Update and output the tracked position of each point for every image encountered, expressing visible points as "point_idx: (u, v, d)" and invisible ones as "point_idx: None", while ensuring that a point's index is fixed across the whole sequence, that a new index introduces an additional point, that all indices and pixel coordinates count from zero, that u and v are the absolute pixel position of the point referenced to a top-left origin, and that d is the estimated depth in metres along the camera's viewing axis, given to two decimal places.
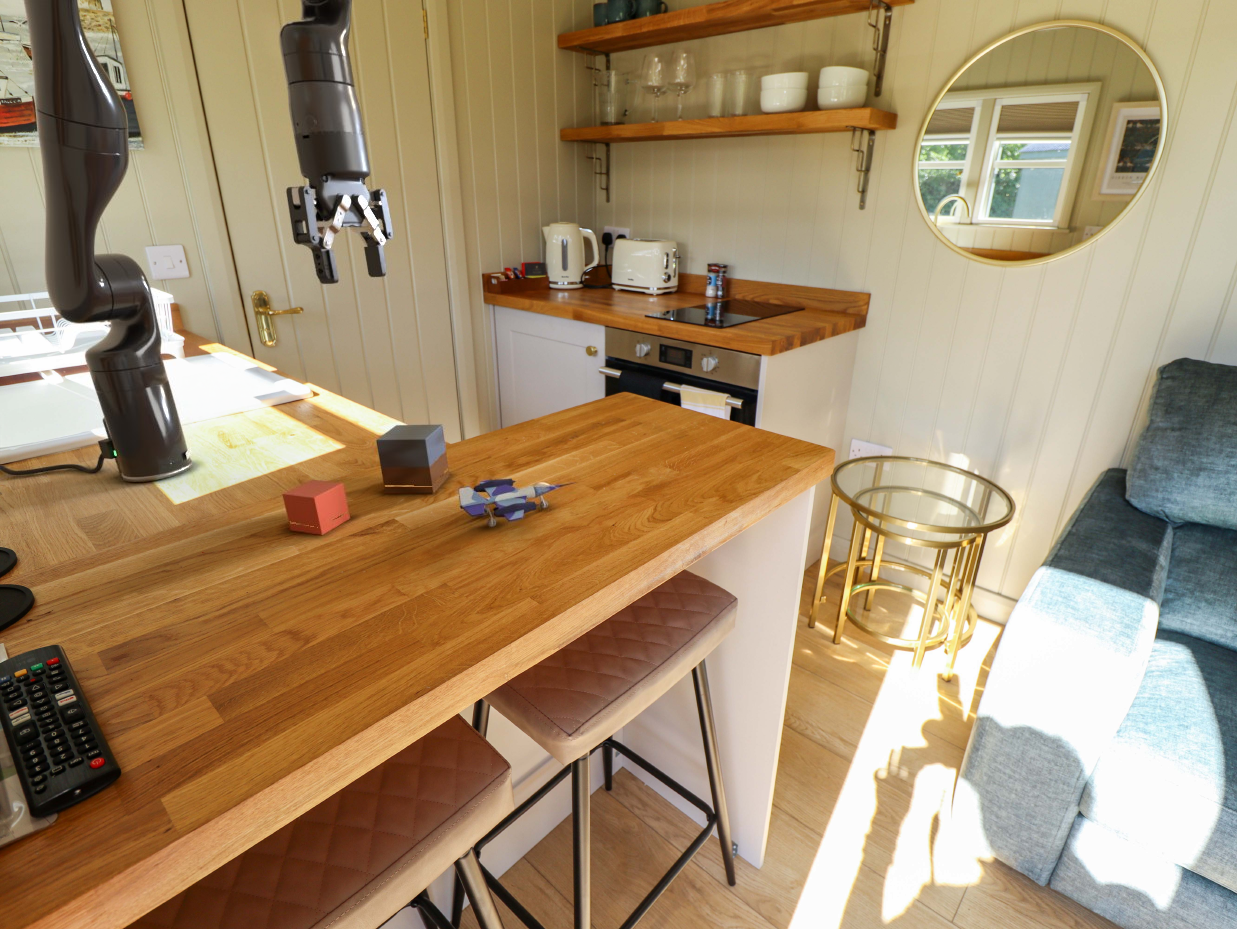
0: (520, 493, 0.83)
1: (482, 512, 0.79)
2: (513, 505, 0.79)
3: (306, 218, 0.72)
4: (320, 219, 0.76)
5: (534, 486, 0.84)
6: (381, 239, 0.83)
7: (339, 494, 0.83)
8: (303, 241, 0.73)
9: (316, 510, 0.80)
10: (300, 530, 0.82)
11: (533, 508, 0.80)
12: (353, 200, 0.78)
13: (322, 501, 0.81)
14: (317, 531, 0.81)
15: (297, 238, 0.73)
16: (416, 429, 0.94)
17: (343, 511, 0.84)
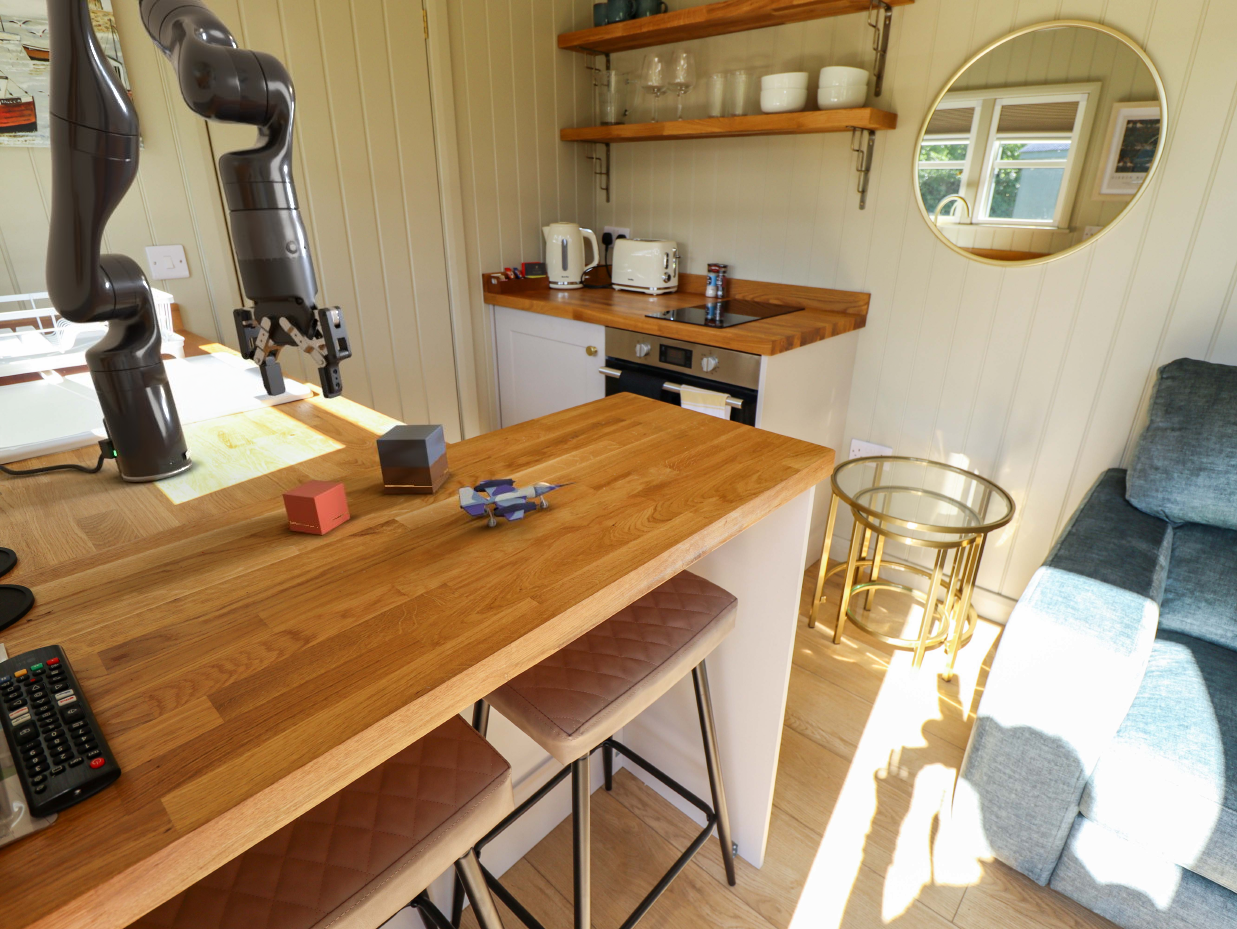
0: (520, 493, 0.83)
1: (482, 512, 0.79)
2: (513, 505, 0.79)
3: None
4: None
5: (534, 486, 0.84)
6: (319, 361, 0.75)
7: (339, 494, 0.83)
8: None
9: (316, 510, 0.80)
10: (300, 530, 0.82)
11: (533, 508, 0.80)
12: None
13: (322, 501, 0.81)
14: (317, 531, 0.81)
15: None
16: (416, 429, 0.94)
17: (343, 511, 0.84)
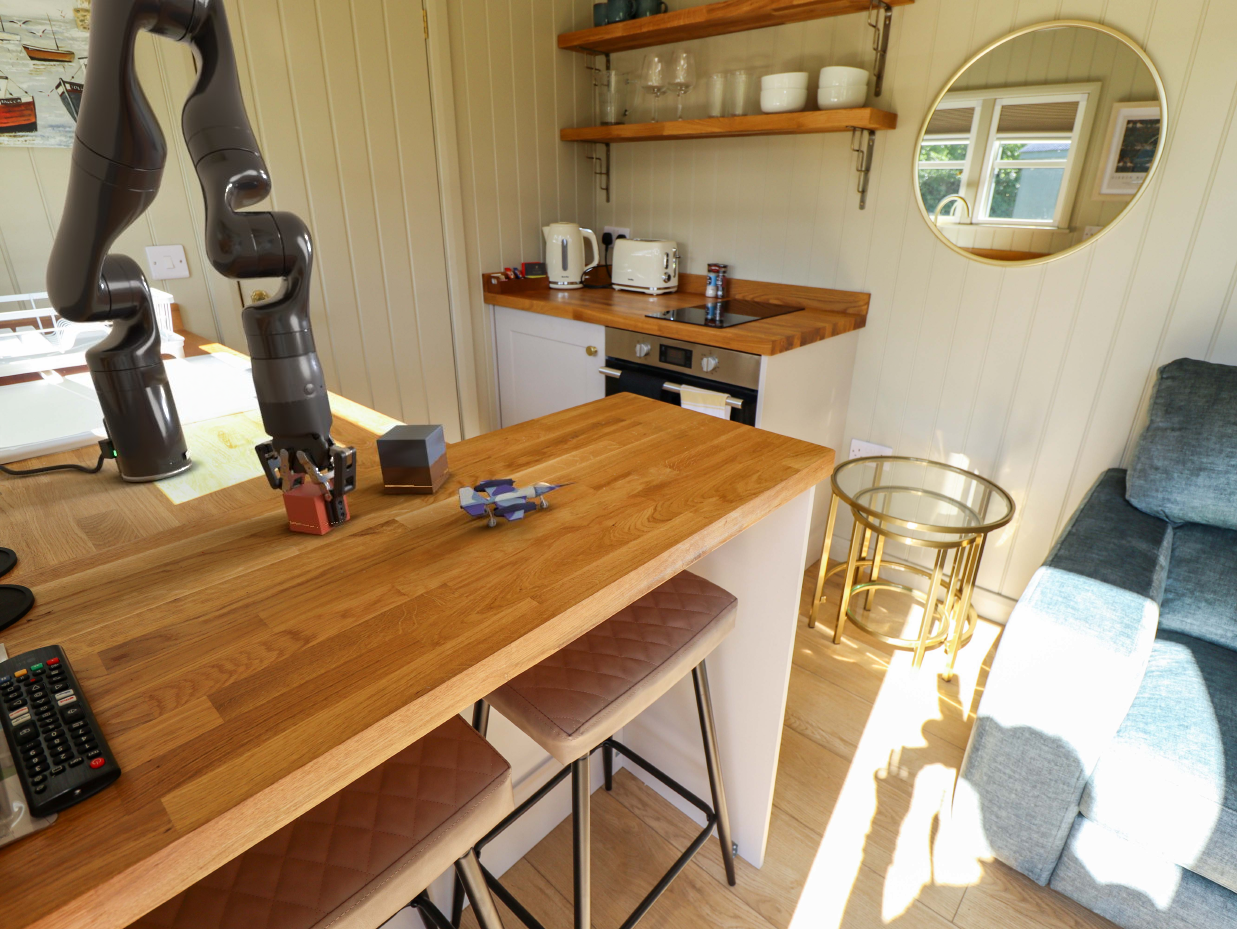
0: (520, 493, 0.83)
1: (482, 512, 0.79)
2: (513, 505, 0.79)
3: None
4: None
5: (534, 486, 0.84)
6: (325, 495, 0.80)
7: None
8: None
9: (316, 510, 0.80)
10: (300, 530, 0.82)
11: (533, 508, 0.80)
12: None
13: (322, 500, 0.81)
14: (317, 531, 0.81)
15: None
16: (416, 429, 0.94)
17: None
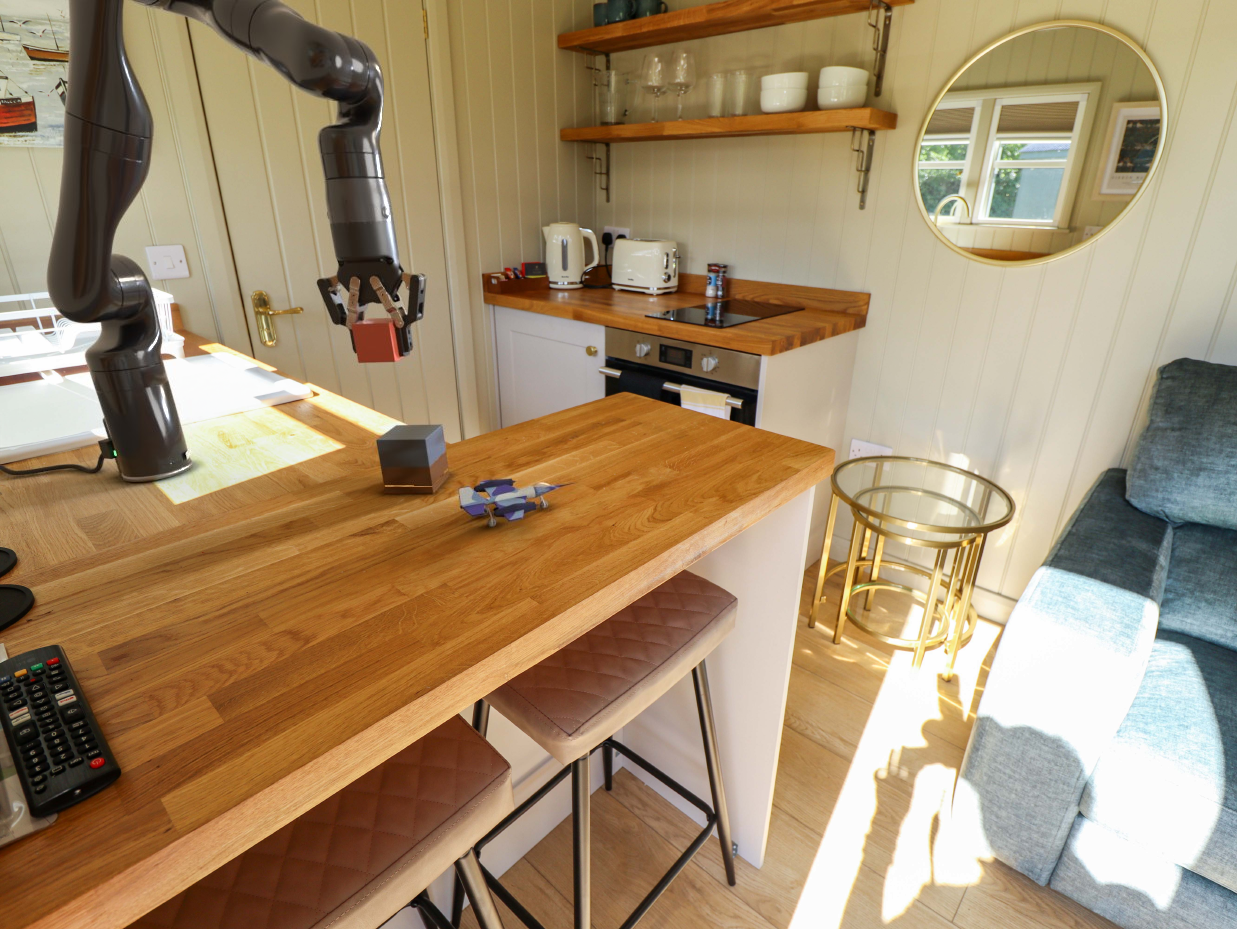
0: (520, 493, 0.83)
1: (482, 512, 0.79)
2: (513, 505, 0.79)
3: None
4: None
5: (534, 486, 0.84)
6: (397, 322, 0.84)
7: None
8: None
9: (391, 336, 0.84)
10: (370, 360, 0.85)
11: (533, 508, 0.80)
12: None
13: (393, 328, 0.85)
14: (390, 358, 0.85)
15: None
16: (416, 429, 0.94)
17: None
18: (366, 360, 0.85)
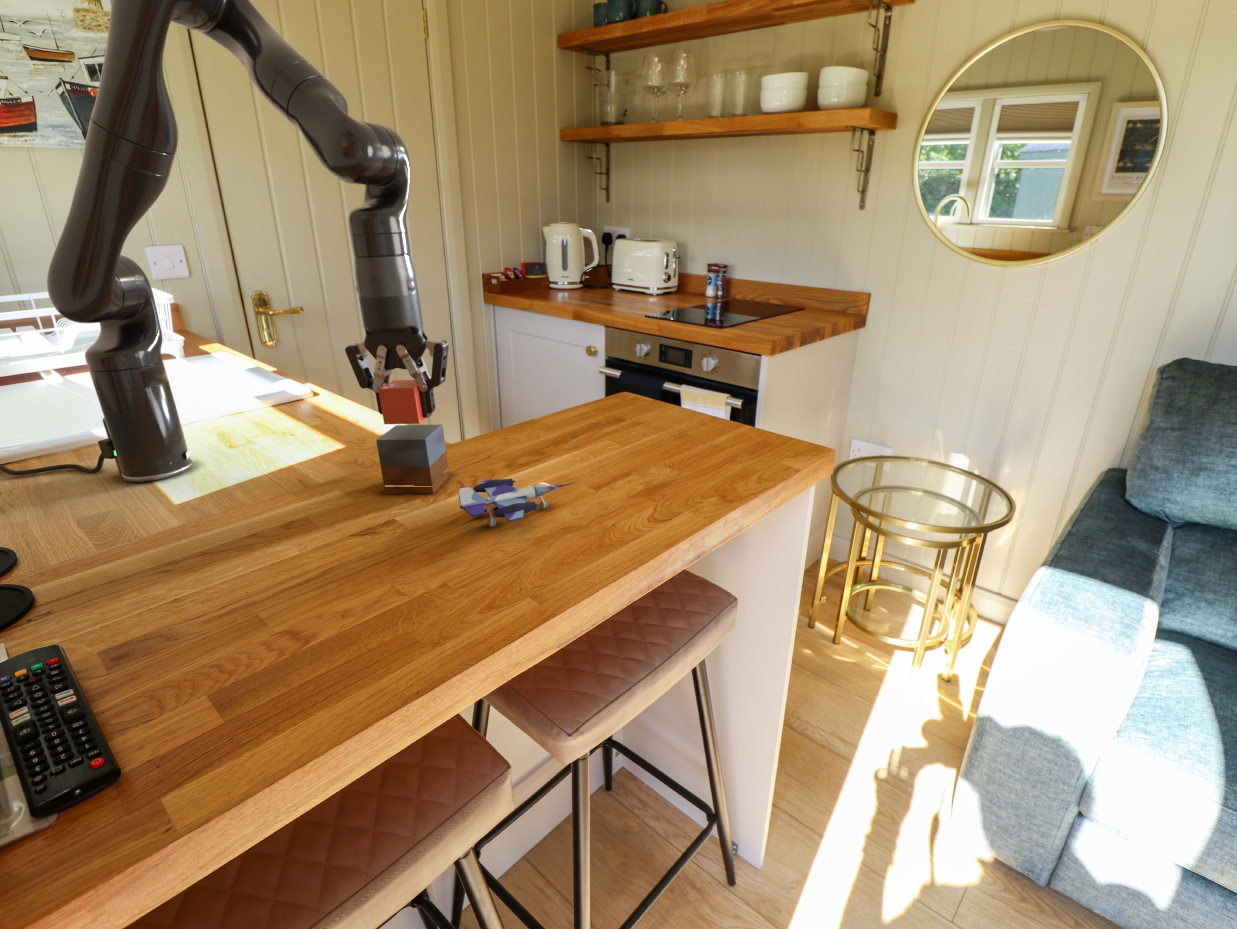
0: (520, 493, 0.83)
1: (482, 512, 0.79)
2: (513, 505, 0.79)
3: None
4: None
5: (534, 486, 0.84)
6: (421, 386, 0.89)
7: None
8: None
9: (415, 400, 0.89)
10: (395, 422, 0.90)
11: (533, 508, 0.80)
12: None
13: (418, 392, 0.90)
14: (414, 420, 0.90)
15: None
16: (416, 429, 0.94)
17: None
18: (392, 422, 0.90)
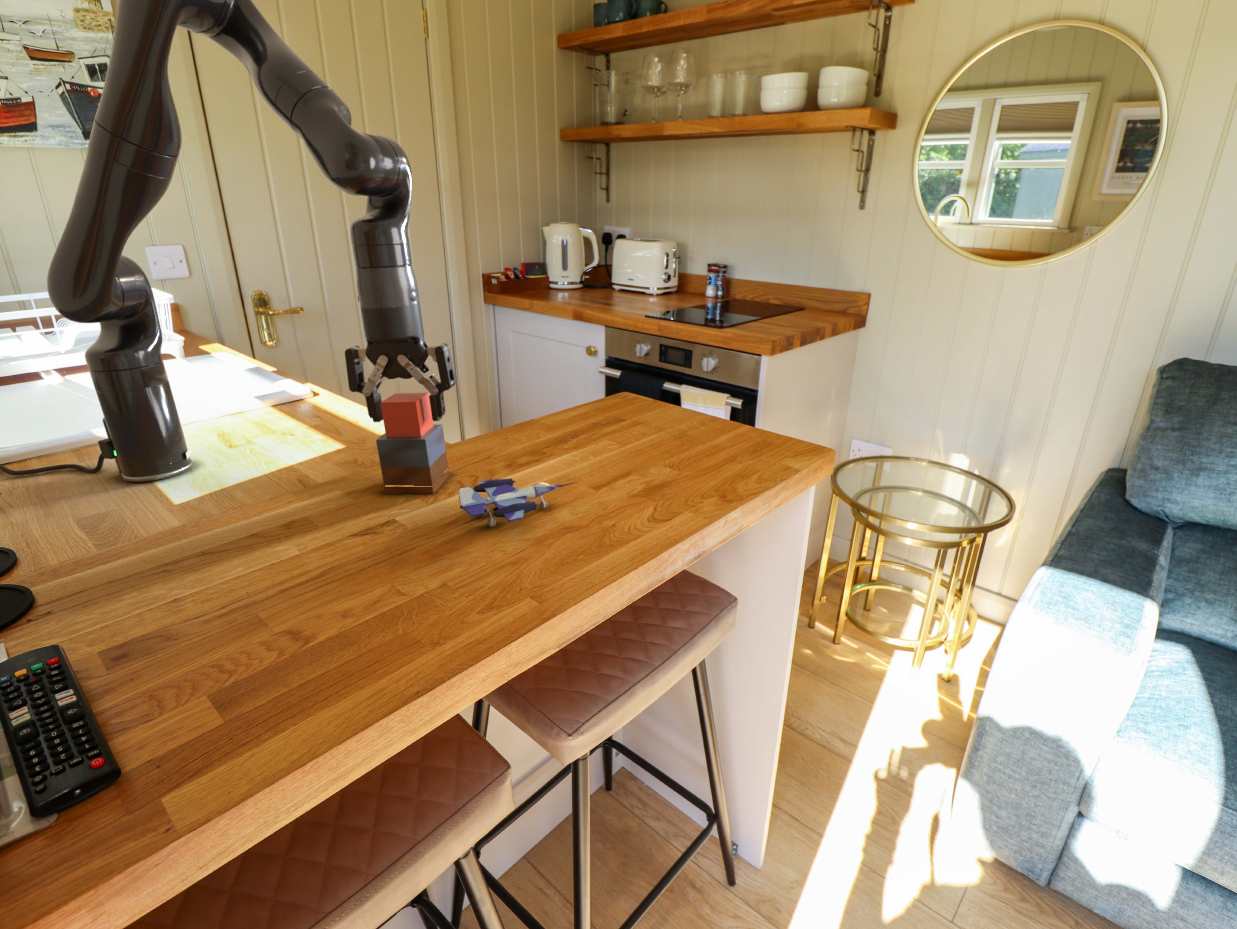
0: (520, 493, 0.83)
1: (482, 512, 0.79)
2: (513, 505, 0.79)
3: None
4: None
5: (534, 486, 0.84)
6: (431, 390, 0.89)
7: (427, 402, 0.93)
8: None
9: (417, 414, 0.89)
10: (397, 435, 0.91)
11: (533, 508, 0.80)
12: None
13: (419, 405, 0.90)
14: (416, 434, 0.90)
15: None
16: None
17: (430, 418, 0.94)
18: (394, 435, 0.91)
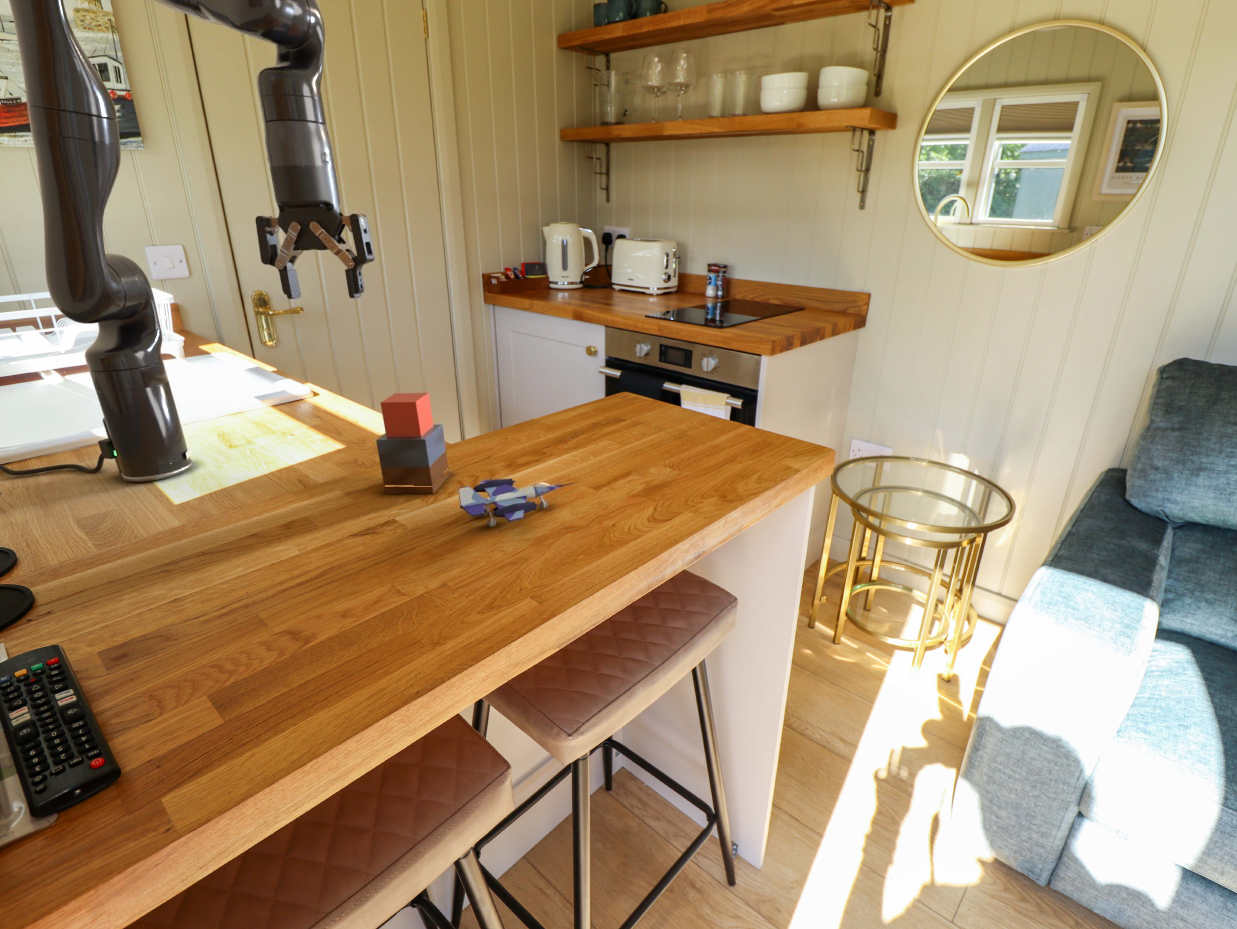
0: (520, 493, 0.83)
1: (482, 512, 0.79)
2: (513, 505, 0.79)
3: None
4: None
5: (534, 486, 0.84)
6: (347, 263, 0.85)
7: (427, 402, 0.93)
8: None
9: (417, 414, 0.89)
10: (397, 435, 0.91)
11: (533, 508, 0.80)
12: None
13: (419, 405, 0.90)
14: (416, 434, 0.90)
15: None
16: None
17: (430, 418, 0.94)
18: (394, 435, 0.91)
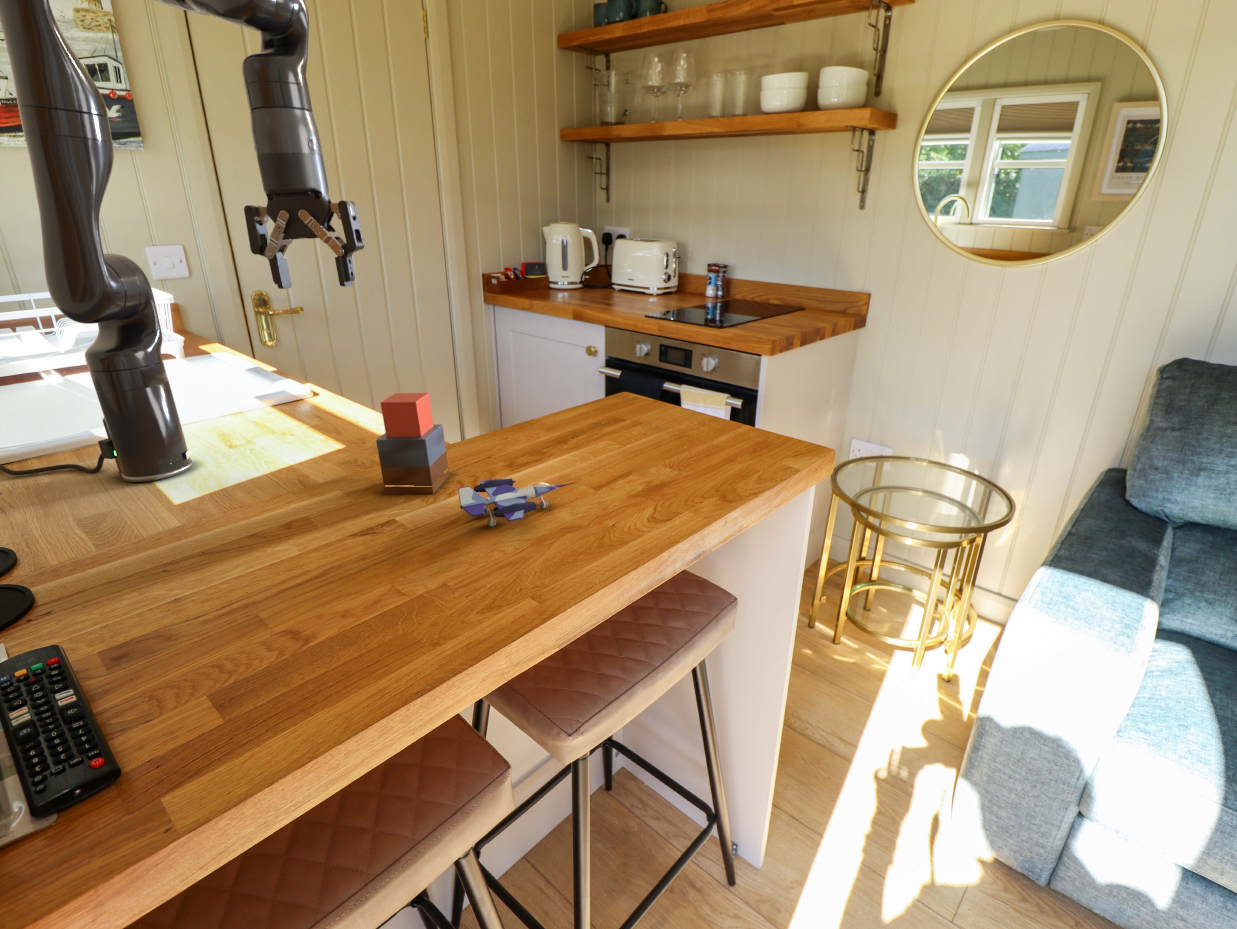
0: (520, 493, 0.83)
1: (482, 512, 0.79)
2: (513, 505, 0.79)
3: None
4: None
5: (534, 486, 0.84)
6: (337, 250, 0.85)
7: (427, 402, 0.93)
8: None
9: (417, 414, 0.89)
10: (397, 435, 0.91)
11: (533, 508, 0.80)
12: None
13: (420, 405, 0.90)
14: (416, 434, 0.90)
15: None
16: None
17: (430, 418, 0.94)
18: (394, 435, 0.91)
